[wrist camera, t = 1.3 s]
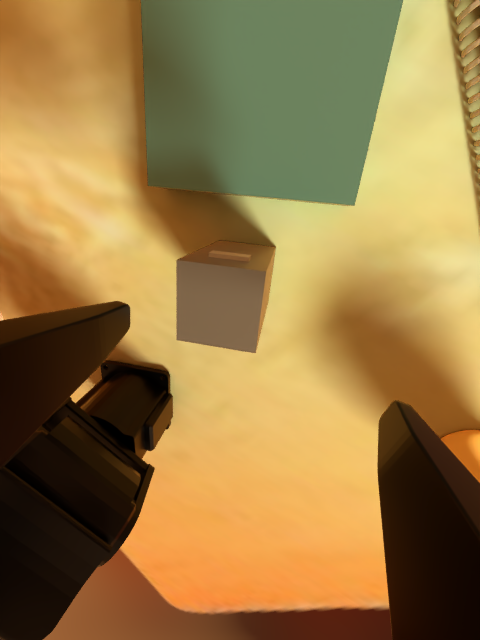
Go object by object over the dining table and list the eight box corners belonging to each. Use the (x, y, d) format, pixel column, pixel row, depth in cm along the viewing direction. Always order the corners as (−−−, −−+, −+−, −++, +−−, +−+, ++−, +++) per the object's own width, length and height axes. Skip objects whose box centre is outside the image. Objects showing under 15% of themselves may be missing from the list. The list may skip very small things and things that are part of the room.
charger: (216, 293, 21) (176, 339, 14) (219, 237, 19) (176, 255, 12) (268, 301, 20) (255, 353, 13) (276, 243, 19) (266, 267, 12)
